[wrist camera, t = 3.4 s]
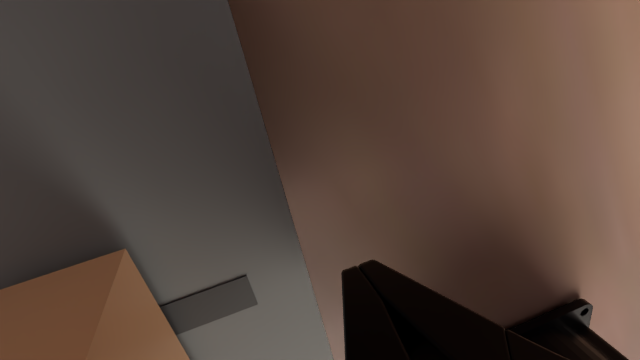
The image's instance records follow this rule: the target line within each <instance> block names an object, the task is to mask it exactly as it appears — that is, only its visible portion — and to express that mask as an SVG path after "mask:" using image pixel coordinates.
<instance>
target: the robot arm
mask: <svg viewBox="0 0 640 360" xmlns="http://www.w3.org/2000/svg"><path fill="white" fill-rule="evenodd" d="M342 296H343V319H344V342H345V360H629V359H627V358H626V357H625V356H624V355H622V354H621V353H620V352H619V351H617V350H616V349H615V348H614V347H612V346H611V345H610V344H609V343H607V342H606V341H605V340H604V339H602V338H601V337H600V336H599V335H597V334H596V333H595V332H594V331H592V330H591V329H590V328H589V325H590V320H591V315H592V309H593V306H592V305H591V304H590V303H589V302H587V301H586V300H584V299H578V300H576V301H574V302H572V303H569V304H567V305H565V306H562V307H560V308H558V309H556V310H553V311H551V312H549V313H547V314H544V315H542V316H540V317H538V318H535V319H533V320H531V321H528V322H526V323H524V324H522V325H519V326H517V327H515V328H513V329H510V330H508V329H507V330H506V331H505V328H504V327H502V326H500V325H498V324H497V323H495V322H493V321H491V320H489V319H487V318H485V317H483V316H481V315H479V314H477V313H475V312H474V311H472V310H470V309H468V308H466V307H464V306H462V305H460V304H458V303H456V302H454V301H452V300H451V299H449V298H447V297H445V296H443V295H441V294H439V293H437V292H435V291H433V290H431V289H429V288H428V287H426V286H424V285H422V284H420V283H418V282H416V281H414V280H412V279H410V278H408V277H406V276H405V275H403V274H401V273H399V272H397V271H395V270H393V269H391V268H389V267H387V266H385V265H383V264H382V263H380V262H378V261H376V260H370V261H367V262H364V263H361V264H359V266H358V267H357V266H353V267H351V268H348V269H345V270H343V271H342Z"/></svg>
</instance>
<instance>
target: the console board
mask: <svg viewBox="0 0 640 360" xmlns="http://www.w3.org/2000/svg"><path fill="white" fill-rule="evenodd" d="M122 249H126V250H127V252H128V254H129V255H130V257H131V259H132V261H133V262H134V264H135V266H136V267H137V269H138V271H139V273H140V274H141V276H142V278H143V280H144V281H145V283H146V285H147V286H148V288H149V290H150V292H151V293H152V295H153V297H154V299H155V300H156V302H157V304H158V305H159V307H160V309H161V311H162V312H163V314H164V316H165V317H166V319H167V321H168V323H169V324H170V326H171V328H172V330H173V331H174V333H175V335H176V336H177V338H178V340H179V342H180V343H181V345H182V347H183V349H184V350H185V352H186V354H187V355H188V357H189V359H190V360H334V358H333V355H332V352H331V348H330V345H329V342H328V338H327V335H326V331H325V328H324V325H323V321H322V318H321V314H320V311H319V308H318V304H317V301H316V297H315V294H314V291H313V287H312V284H311V281H310V277H309V274H308V270H307V267H306V264H305V260H304V257H303V253H302V250H301V247H300V243H299V240H298V236H297V233H296V230H295V226H294V223H293V220H292V216H291V213H290V209H289V206H288V203H287V199H286V196H285V192H284V189H283V186H282V182H281V179H280V175H279V172H278V169H277V165H276V162H275V159H274V155H273V152H272V148H271V145H270V142H269V138H268V135H267V131H266V128H265V125H264V121H263V118H262V114H261V111H260V108H259V104H258V101H257V98H256V94H255V91H254V87H253V84H252V81H251V77H250V74H249V70H248V67H247V64H246V60H245V57H244V53H243V50H242V47H241V43H240V40H239V37H238V33H237V30H236V26H235V23H234V20H233V16H232V13H231V9H230V6H229V3H228V0H0V290H1V289H4V288H7V287H10V286H13V285H16V284H19V283H22V282H25V281H28V280H31V279H34V278H37V277H40V276H43V275H46V274H49V273H52V272H55V271H58V270H61V269H65V268H68V267H71V266H74V265H77V264H80V263H83V262H86V261H89V260H92V259H95V258H98V257H101V256H104V255H107V254H110V253H113V252H116V251H119V250H122Z"/></svg>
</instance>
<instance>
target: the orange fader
mask: <svg viewBox="0 0 640 360" xmlns="http://www.w3.org/2000/svg"><path fill="white" fill-rule="evenodd" d="M0 360H190V359H189V357H188V355H187V354H186V352H185V350H184V349H183V347H182V345H181V343H180V342H179V340H178V338H177V336H176V335H175V333H174V331H173V330H172V328H171V326H170V324H169V323H168V321H167V319H166V317H165V316H164V314H163V312H162V311H161V309H160V307H159V305H158V304H157V302H156V300H155V299H154V297H153V295H152V293H151V292H150V290H149V288H148V286H147V285H146V283H145V281H144V280H143V278H142V276H141V274H140V273H139V271H138V269H137V267H136V266H135V264H134V262H133V261H132V259H131V257H130V255H129V254H128V252H127V250H126V249H122V250H119V251H116V252H113V253H110V254H107V255H104V256H101V257H98V258H95V259H92V260H89V261H86V262H83V263H80V264H77V265H74V266H71V267H68V268H65V269H61V270H58V271H55V272H52V273H49V274H46V275H43V276H40V277H37V278H34V279H31V280H28V281H25V282H22V283H19V284H16V285H13V286H10V287H7V288H4V289H1V290H0Z"/></svg>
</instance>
